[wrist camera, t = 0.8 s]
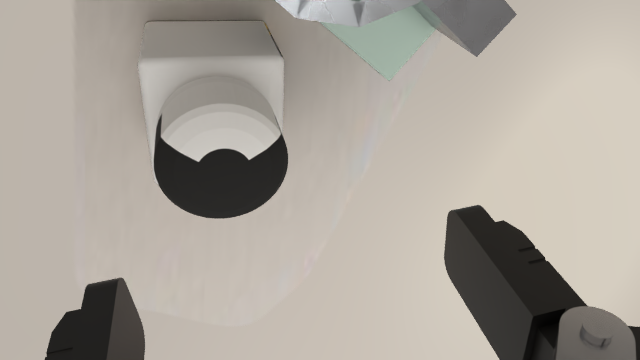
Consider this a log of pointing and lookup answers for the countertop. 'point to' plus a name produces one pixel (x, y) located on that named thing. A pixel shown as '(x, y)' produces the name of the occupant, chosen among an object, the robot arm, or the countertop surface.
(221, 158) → the medicine bottle
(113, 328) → the robot arm
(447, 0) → the ring
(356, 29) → the mat
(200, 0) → the countertop surface
